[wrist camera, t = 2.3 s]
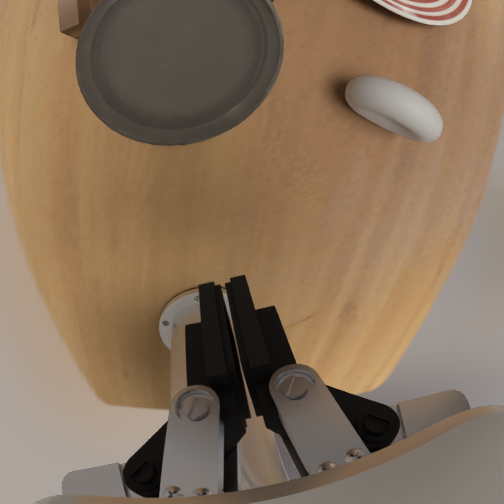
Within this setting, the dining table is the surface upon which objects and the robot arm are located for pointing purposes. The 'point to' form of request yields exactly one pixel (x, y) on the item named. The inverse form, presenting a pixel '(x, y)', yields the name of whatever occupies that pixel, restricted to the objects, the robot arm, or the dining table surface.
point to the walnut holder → (75, 15)
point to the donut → (394, 107)
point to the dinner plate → (429, 10)
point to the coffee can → (178, 65)
